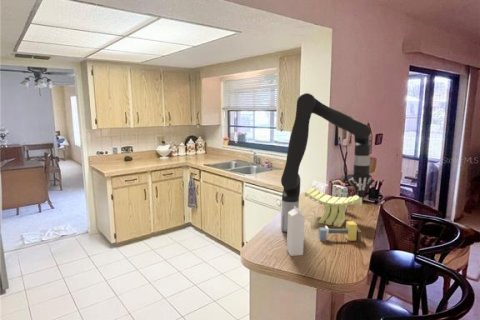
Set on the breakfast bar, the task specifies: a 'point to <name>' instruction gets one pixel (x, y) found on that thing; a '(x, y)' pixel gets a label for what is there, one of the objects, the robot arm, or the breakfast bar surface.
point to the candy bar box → (340, 192)
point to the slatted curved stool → (333, 206)
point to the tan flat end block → (358, 235)
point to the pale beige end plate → (327, 230)
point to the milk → (295, 232)
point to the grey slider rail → (339, 231)
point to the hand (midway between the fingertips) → (360, 197)
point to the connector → (322, 234)
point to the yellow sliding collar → (351, 230)
